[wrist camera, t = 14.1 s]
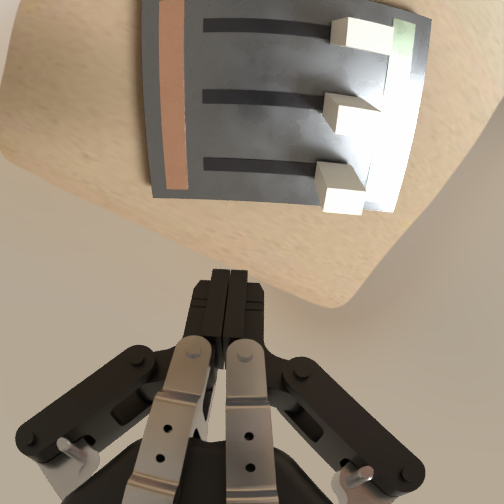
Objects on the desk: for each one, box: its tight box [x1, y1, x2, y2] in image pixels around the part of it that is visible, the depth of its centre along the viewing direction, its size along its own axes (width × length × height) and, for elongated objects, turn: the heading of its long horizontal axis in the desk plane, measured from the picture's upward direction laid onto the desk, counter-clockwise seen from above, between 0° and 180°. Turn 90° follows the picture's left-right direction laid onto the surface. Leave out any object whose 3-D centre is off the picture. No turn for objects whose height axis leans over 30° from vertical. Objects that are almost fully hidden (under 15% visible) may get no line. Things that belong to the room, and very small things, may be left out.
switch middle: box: [322, 92, 383, 140], centre depth 21 cm, size 2×3×5 cm, turn 88°
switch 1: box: [330, 17, 394, 56], centre depth 17 cm, size 2×3×5 cm, turn 87°
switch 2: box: [314, 161, 367, 215], centre depth 24 cm, size 2×3×5 cm, turn 88°
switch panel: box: [141, 0, 432, 212], centre depth 24 cm, size 19×23×2 cm
